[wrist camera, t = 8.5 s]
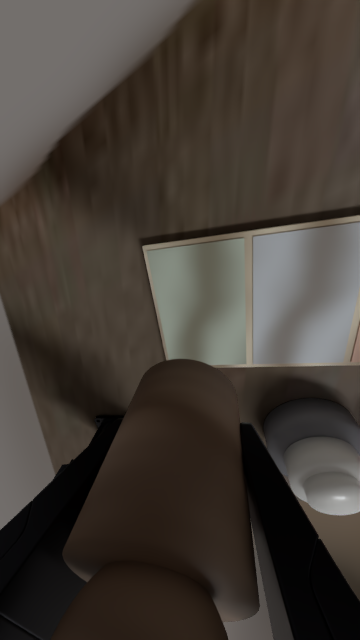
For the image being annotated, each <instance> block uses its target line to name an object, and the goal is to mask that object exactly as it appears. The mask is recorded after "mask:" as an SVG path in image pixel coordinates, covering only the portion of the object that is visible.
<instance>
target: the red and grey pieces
mask: <svg viewBox="0 0 360 640" xmlns="http://www.w3.org/2000/svg"><path fill="white" fill-rule="evenodd" d="M263 429H264V435H265V439H266V444H267V449H268V452H269V453H270V455H271V457H272V458H273V460H274V462H275V463H276V465H277V467H278V468H279V470H280V472H281V473H282V474H284V475H285V476H287V477H288V474H287V470H286V467H285V463H284V453H285V451H286V449H287V448H288V447H289V446H290V445H292V444H293V443H295V442H297V441H299V440H302V439H305V438H310V437H332V438H337V439H340V440H343V441H345V442H347V443H349V444H351V445H352V446H353V447H354V448H355V449H356V451H357V452H358V454H359V456H360V427H359V425H358V424H357V422H356V421H355V419H354V418H353V416H352V415H351V414H350V412H349V411H348V410H347V409H346V408H344V407H343V406H341V405H339V404H337V403H335V402H332V401H329V400H325V399H318V398H304V399H297V400H293V401H289V402H286V403H284V404H282V405H280V406H278V407H276V408H275V409H274V410H272V411H271V412H270V413H269V415H268V416H267V417H266V419H265V422H264V426H263Z"/></svg>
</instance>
